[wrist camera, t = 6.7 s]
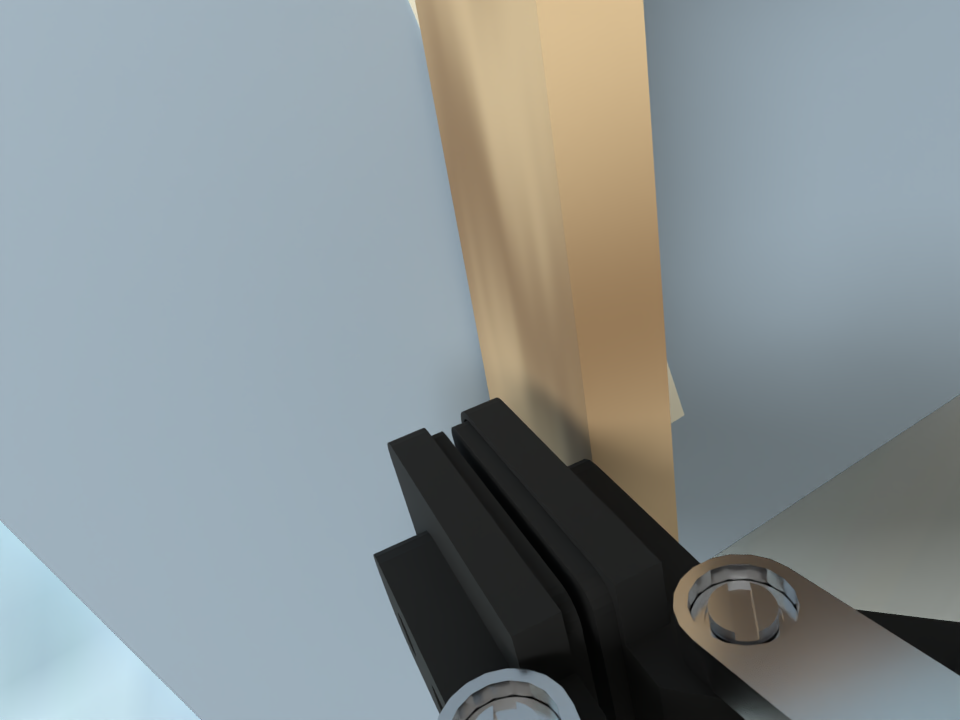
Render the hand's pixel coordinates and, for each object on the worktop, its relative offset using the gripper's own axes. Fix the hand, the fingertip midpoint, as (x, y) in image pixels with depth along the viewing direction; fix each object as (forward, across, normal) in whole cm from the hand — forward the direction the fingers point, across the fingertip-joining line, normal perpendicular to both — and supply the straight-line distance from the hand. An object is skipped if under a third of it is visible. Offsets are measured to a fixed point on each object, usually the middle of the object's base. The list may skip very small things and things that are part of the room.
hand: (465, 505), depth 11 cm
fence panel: (+3, -2, -2) cm, 4 cm away
